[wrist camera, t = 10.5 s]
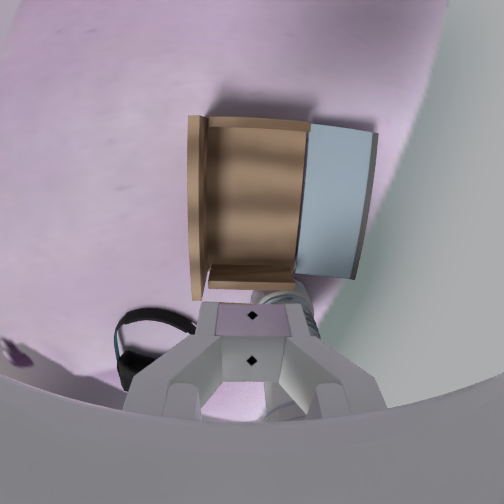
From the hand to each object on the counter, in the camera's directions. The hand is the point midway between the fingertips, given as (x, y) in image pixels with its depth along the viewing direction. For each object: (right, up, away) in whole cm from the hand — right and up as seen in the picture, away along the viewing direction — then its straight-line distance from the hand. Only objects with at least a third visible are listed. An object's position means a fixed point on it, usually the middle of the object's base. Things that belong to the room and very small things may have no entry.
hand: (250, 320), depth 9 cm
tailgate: (+7, +9, +30) cm, 32 cm away
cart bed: (0, +10, +33) cm, 34 cm away
